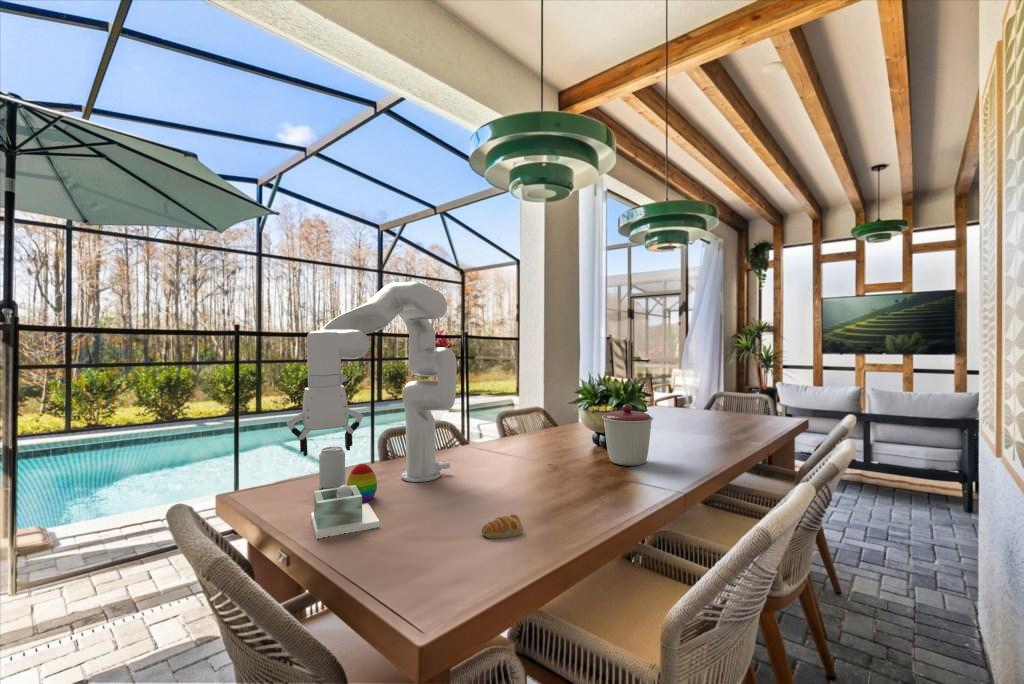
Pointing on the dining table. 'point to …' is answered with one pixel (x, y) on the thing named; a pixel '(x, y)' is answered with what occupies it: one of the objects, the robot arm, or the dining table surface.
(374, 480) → the decorative egg
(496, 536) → the pastry
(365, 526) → the post board
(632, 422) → the canister
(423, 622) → the dining table surface
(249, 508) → the dining table surface
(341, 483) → the can
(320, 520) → the collar
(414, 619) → the dining table surface
